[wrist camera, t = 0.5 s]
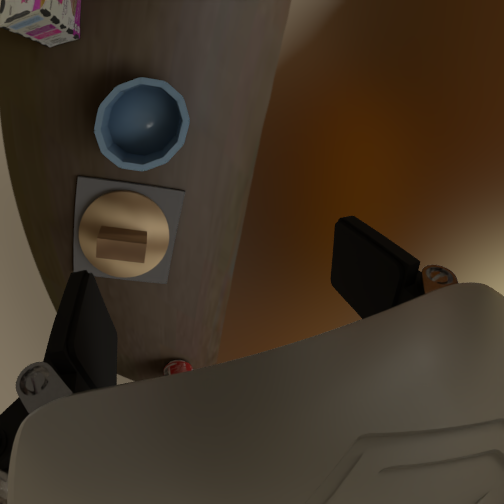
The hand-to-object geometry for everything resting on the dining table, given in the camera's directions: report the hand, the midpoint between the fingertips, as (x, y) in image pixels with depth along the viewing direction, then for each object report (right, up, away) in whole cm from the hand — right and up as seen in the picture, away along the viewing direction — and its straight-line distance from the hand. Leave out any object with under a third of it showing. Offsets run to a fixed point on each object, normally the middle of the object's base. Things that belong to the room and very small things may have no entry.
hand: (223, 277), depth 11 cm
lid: (-18, +3, +31) cm, 36 cm away
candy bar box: (-24, +33, +12) cm, 43 cm away
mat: (-18, +4, +32) cm, 37 cm away
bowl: (-13, +19, +25) cm, 34 cm away
